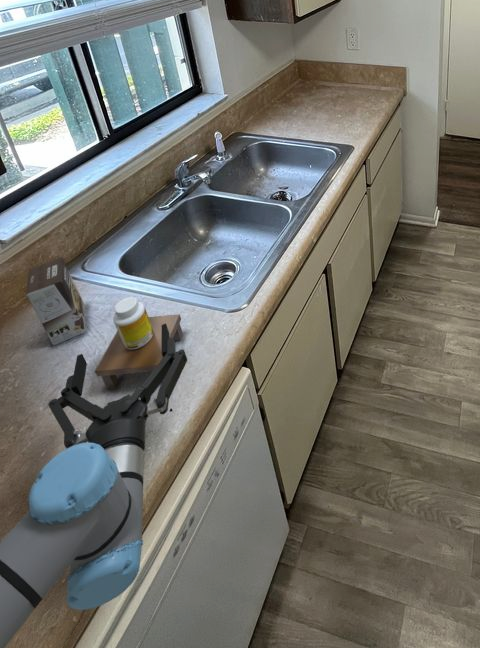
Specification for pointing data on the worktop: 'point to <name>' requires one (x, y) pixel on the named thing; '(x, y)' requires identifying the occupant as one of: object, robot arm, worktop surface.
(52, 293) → the coffee box
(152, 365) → the stool
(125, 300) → the supplement bottle
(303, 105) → the worktop surface
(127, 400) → the robot arm
